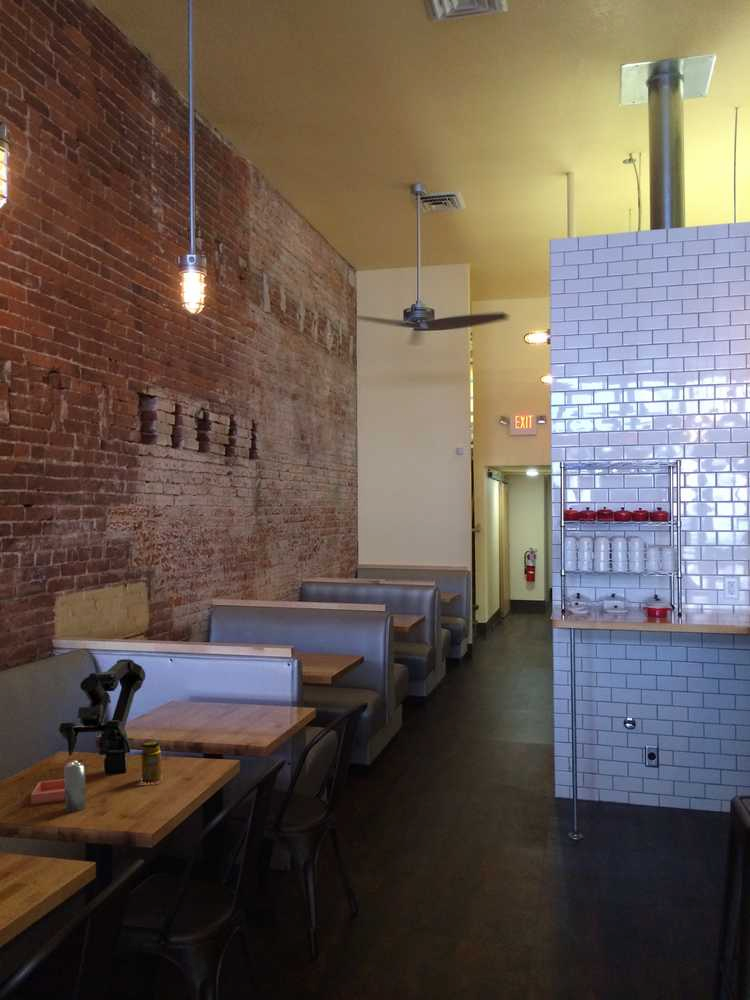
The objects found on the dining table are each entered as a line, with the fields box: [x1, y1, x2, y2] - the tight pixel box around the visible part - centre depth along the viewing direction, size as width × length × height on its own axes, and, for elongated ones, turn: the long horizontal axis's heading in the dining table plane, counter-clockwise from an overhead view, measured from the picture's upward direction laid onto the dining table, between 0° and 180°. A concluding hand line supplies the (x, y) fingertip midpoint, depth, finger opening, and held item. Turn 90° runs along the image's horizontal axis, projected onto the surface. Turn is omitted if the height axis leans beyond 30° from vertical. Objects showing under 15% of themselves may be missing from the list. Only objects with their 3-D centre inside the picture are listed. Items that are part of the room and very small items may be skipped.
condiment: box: [136, 740, 163, 786], centre depth 250 cm, size 7×8×12 cm
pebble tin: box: [63, 759, 87, 813], centre depth 229 cm, size 6×6×14 cm
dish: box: [30, 778, 66, 806], centre depth 240 cm, size 12×12×3 cm
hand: (84, 754), depth 237 cm, fingers open, 9 cm apart
